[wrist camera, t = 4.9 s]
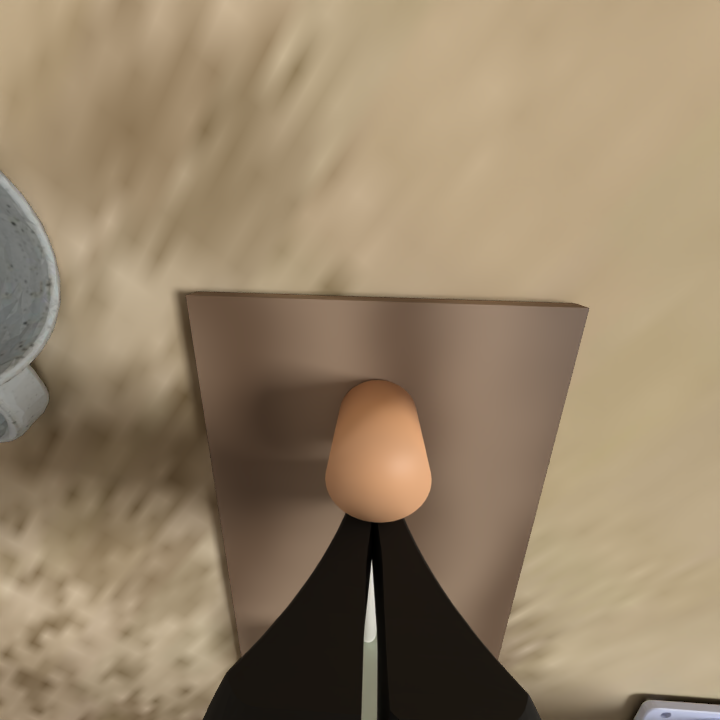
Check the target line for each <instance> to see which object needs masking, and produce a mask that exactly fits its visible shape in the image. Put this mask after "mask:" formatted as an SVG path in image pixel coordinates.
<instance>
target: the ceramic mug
mask: <svg viewBox="0 0 720 720" xmlns="http://www.w3.org/2000/svg"><path fill="white" fill-rule="evenodd" d="M60 303H61V302H60V277H59V271H58V267H57V262H56V257H55V254H54V251H53V249H52V246H51V244H50V241H49V239H48V236H47V234H46V232H45V229H44V227H43V225H42V223H41V221H40V220H39V218H38V217H37V215H36V213H35V212H34V210H33V209H32V207H31V206H30V204H29V203H28V202H27V200H26V199H25V198H24V196H23V195H22V193H21V192H20V191H19V190H18V189H17V188H16V187H15V186H14V185H13V183H12V182H11V181H10V180H9V179H8V178H7V177H6V176H5V175H4V174H3V173H2V172H1V171H0V443H2V442H9V441H13V440H15V439H17V438H18V437H20V436H22V435H23V434H24V433H25V432H26V431H27V430H28V429H29V428H30V426H31V425H32V424H33V422H34V421H36V420H37V419H38V418H39V417H40V416H41V415H42V414H43V413H44V411H45V409H46V406H47V404H48V402H49V393H48V390H47V388H46V386H45V385H44V383H43V382H42V380H41V379H40V377H39V376H38V375H37V373H36V372H35V370H34V369H33V368H32V367H31V366H30V363H31V362H32V361H33V360H34V359H35V358H36V357H37V356H38V354H39V353H40V352H41V351H42V349H43V348H44V346H45V344H46V343H47V341H48V339H49V338H50V336H51V334H52V332H53V329H54V326H55V323H56V320H57V316H58V311H59V307H60Z"/></svg>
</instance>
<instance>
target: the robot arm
mask: <svg viewBox="0 0 720 720" xmlns="http://www.w3.org/2000/svg"><path fill="white" fill-rule="evenodd" d="M371 563H372V570H373V585H374V599H375V614H376V628H377V720H541V718H540V716H539V714H538V712H537V710H536V708H535V706H534V704H533V702H532V700H531V698H530V696H529V694H528V693H527V692H526V691H525V690H524V689H523V688H522V687H521V686H520V685H519V684H518V682H517V681H516V680H515V679H514V678H513V677H512V676H511V675H510V674H509V673H508V672H507V670H506V669H505V668H504V667H503V666H502V665H501V664H500V663H499V661H498V660H497V659H496V658H495V657H494V656H493V654H492V653H491V652H490V651H489V650H488V648H487V647H486V646H485V645H484V644H483V642H482V641H481V640H480V639H479V638H478V636H477V635H476V634H475V632H474V631H473V630H472V629H471V627H470V626H469V625H468V623H467V622H466V621H465V619H464V618H463V617H462V615H461V614H460V613H459V611H458V610H457V609H456V608H455V606H454V605H453V603H452V602H451V600H450V599H449V597H448V596H447V595H446V593H445V592H444V590H443V589H442V587H441V586H440V584H439V582H438V581H437V579H436V578H435V576H434V574H433V573H432V571H431V570H430V568H429V566H428V564H427V563H426V561H425V559H424V557H423V555H422V554H421V552H420V550H419V548H418V546H417V544H416V542H415V540H414V538H413V536H412V534H411V532H410V530H409V528H408V525H407V523H406V521H405V519H404V518H402V519H399V520H396V521H391V522H383V523H379V522H368V521H363V520H360V519H357V518H355V517H352V516H350V515H349V514H347V513H345V515H344V518H343V520H342V522H341V524H340V526H339V528H338V530H337V532H336V534H335V536H334V538H333V539H332V541H331V543H330V545H329V547H328V548H327V550H326V552H325V554H324V555H323V557H322V558H321V560H320V562H319V563H318V565H317V566H316V568H315V569H314V571H313V572H312V574H311V575H310V577H309V578H308V580H307V581H306V583H305V584H304V585H303V587H302V588H301V589H300V591H299V592H298V593H297V595H296V596H295V597H294V599H293V600H292V601H291V603H290V604H289V605H288V606H287V608H286V609H285V610H284V611H283V612H282V613H281V615H280V616H279V617H278V618H277V619H276V620H275V622H274V623H273V624H272V625H271V626H270V627H269V629H268V630H267V631H266V632H265V633H264V634H263V635H262V637H261V638H260V639H259V640H258V641H257V642H256V643H255V644H254V645H253V646H252V647H251V648H250V649H249V650H248V651H247V652H246V653H245V654H244V655H243V656H242V657H241V658H240V659H239V660H238V661H237V662H236V663H235V664H234V665H233V666H232V667H231V668H230V669H229V671H228V672H227V673H226V675H225V676H224V678H223V680H222V682H221V684H220V685H219V687H218V689H217V691H216V693H215V695H214V697H213V699H212V701H211V703H210V705H209V707H208V709H207V712H206V714H205V716H204V718H203V720H361V715H362V682H363V649H364V629H365V619H366V610H367V601H368V592H369V582H370V573H371ZM634 720H720V705H716V704H703V703H689V702H676V701H662V700H647V701H645V702H643V703H642V705H641V707H640V708H639V710H638V712H637V714H636V716H635V718H634Z"/></svg>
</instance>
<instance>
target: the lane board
mask: <svg viewBox="0 0 720 720" xmlns="http://www.w3.org/2000/svg"><path fill="white" fill-rule="evenodd" d="M186 301H187V307H188V314H189V320H190V327H191V333H192V339H193V346H194V352H195V359H196V365H197V372H198V378H199V385H200V391H201V398H202V404H203V411H204V417H205V424H206V430H207V437H208V443H209V450H210V456H211V463H212V469H213V476H214V482H215V489H216V495H217V502H218V508H219V515H220V521H221V528H222V534H223V541H224V547H225V554H226V560H227V567H228V573H229V580H230V586H231V593H232V599H233V606H234V612H235V619H236V625H237V632H238V638H239V645H240V651H241V657H242V656H243V655H244V654H245V653H246V652H247V651H248V650H249V649H250V648H251V647H252V646H253V645H254V644H255V643H256V642H257V641H258V640H259V639H260V638H261V637H262V635H263V634H264V633H265V632H266V631H267V630H268V629H269V627H270V626H271V625H272V624H273V623H274V622H275V620H276V619H277V618H278V617H279V616H280V615H281V613H282V612H283V611H284V610H285V609H286V608H287V606H288V605H289V604H290V603H291V601H292V600H293V599H294V597H295V596H296V595H297V593H298V592H299V591H300V589H301V588H302V587H303V585H304V584H305V583H306V581H307V580H308V578H309V577H310V575H311V574H312V572H313V571H314V569H315V568H316V566H317V565H318V563H319V562H320V560H321V558H322V557H323V555H324V554H325V552H326V550H327V548H328V547H329V545H330V543H331V541H332V539H333V538H334V536H335V534H336V532H337V530H338V528H339V526H340V524H341V522H342V520H343V518H344V515H345V512H344V511H343V510H341V509H340V508H339V507H338V506H337V505H336V504H335V503H334V502H333V500H332V499H331V497H330V495H329V493H328V491H327V487H326V482H325V474H326V469H327V464H328V460H329V455H330V451H331V446H332V441H333V437H334V432H335V428H336V423H337V419H338V414H339V409H340V405H341V402H342V400H343V398H344V397H345V395H346V394H347V393H348V392H349V391H350V390H351V389H352V388H354V387H355V386H357V385H358V384H361V383H363V382H366V381H371V380H384V381H389V382H392V383H395V384H397V385H399V386H400V387H402V388H403V389H404V390H406V391H407V392H408V393H409V395H410V396H411V397H412V399H413V401H414V403H415V406H416V410H417V414H418V419H419V423H420V428H421V432H422V436H423V441H424V445H425V449H426V454H427V458H428V462H429V467H430V471H431V478H432V481H431V489H430V492H429V495H428V497H427V498H426V500H425V501H424V503H423V504H422V505H421V506H420V507H419V508H418V509H417V510H416V511H415V512H413V513H412V514H410V515H408V516H406V517H404V519H405V521H406V523H407V525H408V528H409V530H410V532H411V534H412V536H413V538H414V540H415V542H416V544H417V546H418V548H419V550H420V552H421V554H422V555H423V557H424V559H425V561H426V563H427V564H428V566H429V568H430V570H431V571H432V573H433V574H434V576H435V578H436V579H437V581H438V582H439V584H440V586H441V587H442V589H443V590H444V592H445V593H446V595H447V596H448V597H449V599H450V600H451V602H452V603H453V605H454V606H455V608H456V609H457V610H458V611H459V613H460V614H461V615H462V617H463V618H464V619H465V621H466V622H467V623H468V625H469V626H470V627H471V629H472V630H473V631H474V632H475V634H476V635H477V636H478V638H479V639H480V640H481V641H482V642H483V644H484V645H485V646H486V647H487V648H488V650H489V651H490V652H491V653H492V654H493V656H494V657H495V658H496V659H497V660H498V657H499V653H500V650H501V646H502V642H503V638H504V634H505V630H506V626H507V623H508V619H509V615H510V611H511V607H512V603H513V600H514V596H515V592H516V588H517V584H518V580H519V577H520V573H521V569H522V565H523V561H524V557H525V553H526V550H527V546H528V542H529V538H530V534H531V530H532V527H533V523H534V519H535V515H536V511H537V507H538V504H539V500H540V496H541V492H542V488H543V484H544V480H545V477H546V473H547V469H548V465H549V461H550V457H551V454H552V450H553V446H554V442H555V438H556V434H557V430H558V427H559V423H560V419H561V415H562V411H563V407H564V404H565V400H566V396H567V392H568V388H569V384H570V381H571V377H572V373H573V369H574V365H575V361H576V357H577V354H578V350H579V346H580V342H581V338H582V334H583V331H584V327H585V323H586V319H587V315H588V311H589V308H588V307H584V306H581V305H578V304H575V303H545V302H513V301H482V300H450V299H418V298H387V297H355V296H323V295H292V294H260V293H228V292H195V293H191V294H188V295H186Z"/></svg>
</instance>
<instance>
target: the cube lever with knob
mask: <svg viewBox="0 0 720 720" xmlns="http://www.w3.org/2000/svg"><path fill="white" fill-rule="evenodd" d="M431 481H432V478H431V471H430V467H429V462H428V458H427V454H426V449H425V445H424V441H423V436H422V432H421V428H420V423H419V419H418V414H417V410H416V406H415V403H414V401H413V399H412V397H411V396H410V395H409V393H408V392H407V391H406V390H404V389H403V388H402V387H400V386H399V385H397V384H395V383H392V382H389V381H384V380H371V381H366V382H363V383H361V384H358V385H357V386H355V387H354V388H352V389H351V390H350V391H349V392H348V393H347V394H346V395H345V397H344V398H343V400H342V402H341V405H340V409H339V414H338V419H337V423H336V428H335V432H334V437H333V441H332V446H331V451H330V455H329V460H328V464H327V469H326V474H325V482H326V487H327V491H328V493H329V495H330V497H331V499H332V500H333V502H334V503H335V504H336V505H337V506H338V507H339V508H340V509H341V510H343V511H344V512H345V513H347V514H349V515H350V516H352V517H355V518H357V519H360V520H363V521H368V522H379V523H383V522H391V521H396V520H399V519H402V518H404V517H406V516H408V515H410V514H412V513H413V512H415V511H416V510H417V509H418V508H419V507H420V506H421V505H422V504H423V503H424V501H425V500H426V498H427V497H428V495H429V492H430V489H431ZM361 720H377V628H376V614H375V599H374V585H373V570H372V563H371V573H370V582H369V592H368V601H367V610H366V619H365V629H364V649H363V682H362V715H361Z"/></svg>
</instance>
